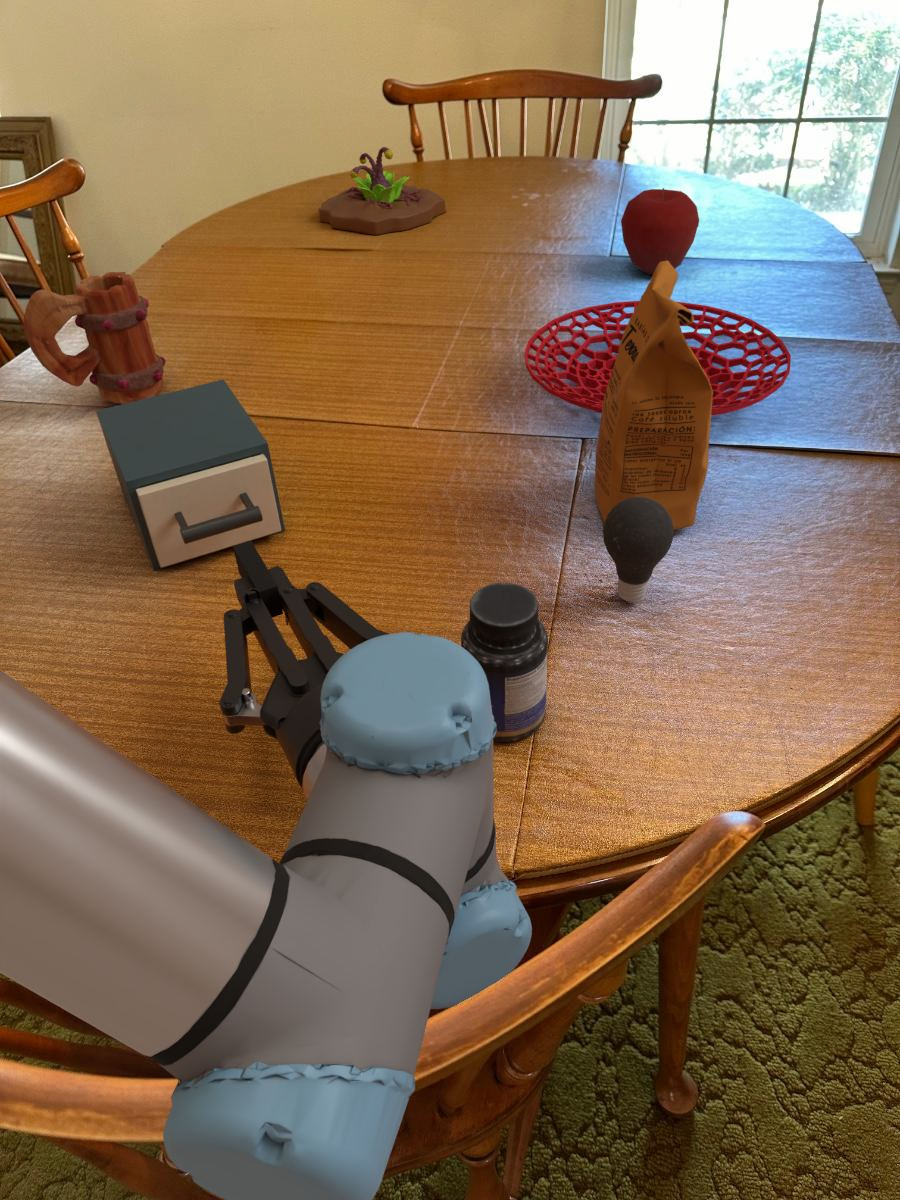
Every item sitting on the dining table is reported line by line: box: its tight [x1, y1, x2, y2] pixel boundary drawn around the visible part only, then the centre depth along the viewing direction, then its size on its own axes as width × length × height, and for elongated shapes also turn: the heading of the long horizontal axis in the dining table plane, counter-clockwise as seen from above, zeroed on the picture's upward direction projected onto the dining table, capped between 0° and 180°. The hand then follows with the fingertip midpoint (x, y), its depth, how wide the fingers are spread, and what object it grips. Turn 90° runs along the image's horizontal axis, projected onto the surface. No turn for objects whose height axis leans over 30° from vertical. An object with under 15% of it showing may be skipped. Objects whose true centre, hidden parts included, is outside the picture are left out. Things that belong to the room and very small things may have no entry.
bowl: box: [524, 300, 792, 417], centre depth 107 cm, size 29×29×5 cm
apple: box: [620, 187, 700, 275], centre depth 133 cm, size 11×11×12 cm
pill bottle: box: [460, 582, 549, 743], centre depth 67 cm, size 6×6×11 cm
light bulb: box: [602, 497, 675, 604], centre depth 77 cm, size 6×6×10 cm
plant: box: [318, 146, 447, 236], centre depth 160 cm, size 20×20×11 cm
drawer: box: [136, 454, 281, 569], centre depth 88 cm, size 18×12×8 cm, turn 26°
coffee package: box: [594, 261, 713, 531], centre depth 84 cm, size 10×12×22 cm
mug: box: [23, 271, 167, 405], centre depth 108 cm, size 15×8×15 cm, turn 130°
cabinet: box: [95, 379, 286, 571], centre depth 91 cm, size 15×13×10 cm
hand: (245, 557), depth 73 cm, fingers closed
